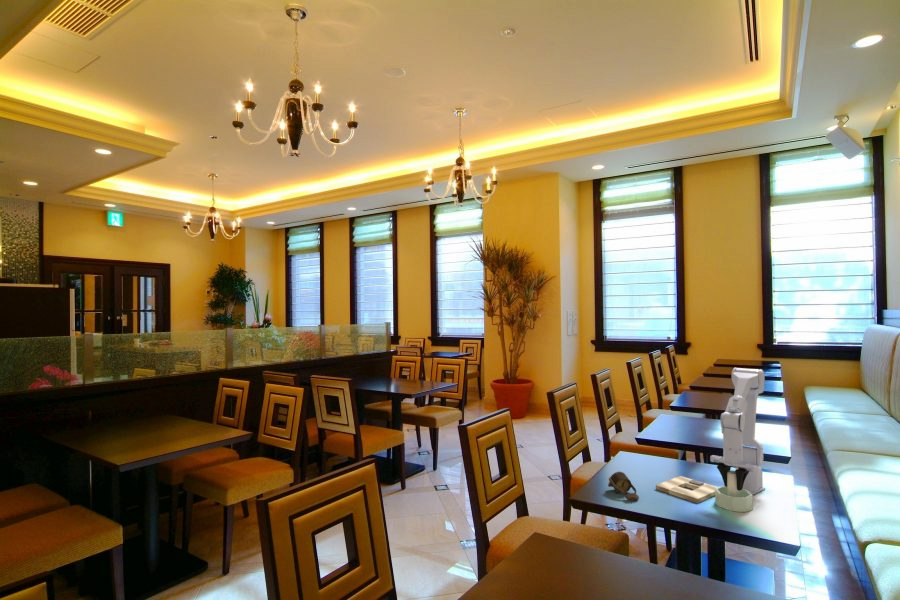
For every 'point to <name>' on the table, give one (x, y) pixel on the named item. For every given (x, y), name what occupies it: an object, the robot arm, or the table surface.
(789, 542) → the table surface
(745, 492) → the pale green bowl
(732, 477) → the cell
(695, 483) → the plate
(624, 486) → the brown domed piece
